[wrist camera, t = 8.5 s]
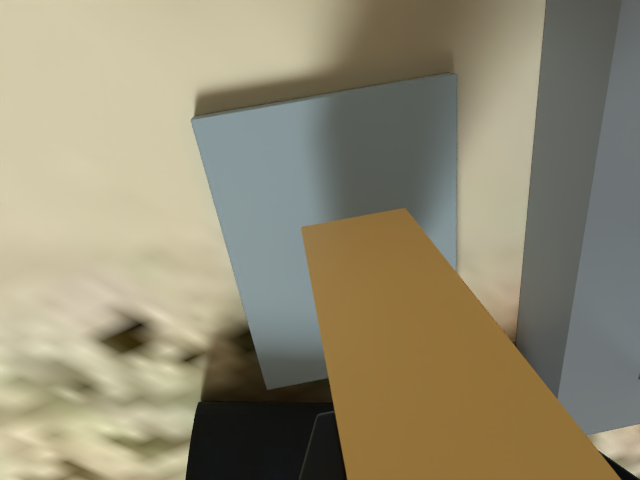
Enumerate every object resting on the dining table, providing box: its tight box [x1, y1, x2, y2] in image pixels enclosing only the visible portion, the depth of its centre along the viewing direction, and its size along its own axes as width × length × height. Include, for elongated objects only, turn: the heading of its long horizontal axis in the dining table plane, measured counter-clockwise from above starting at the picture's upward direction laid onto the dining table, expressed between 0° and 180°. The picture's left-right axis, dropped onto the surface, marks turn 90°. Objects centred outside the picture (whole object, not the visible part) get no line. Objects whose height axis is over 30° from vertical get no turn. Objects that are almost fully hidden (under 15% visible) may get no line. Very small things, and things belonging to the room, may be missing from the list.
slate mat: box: [191, 73, 457, 390], centre depth 15 cm, size 8×11×1 cm
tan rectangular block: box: [301, 208, 621, 480], centre depth 9 cm, size 3×5×9 cm, turn 8°
